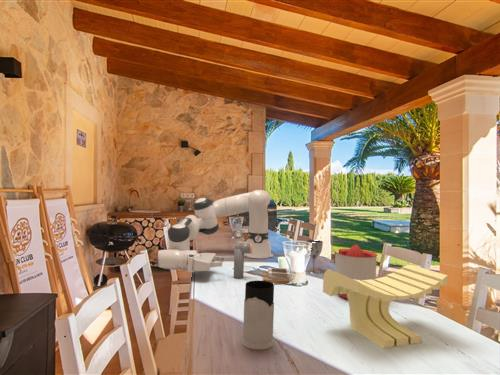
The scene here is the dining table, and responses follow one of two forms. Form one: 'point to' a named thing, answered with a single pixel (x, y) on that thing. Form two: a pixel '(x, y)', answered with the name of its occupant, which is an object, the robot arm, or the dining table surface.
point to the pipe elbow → (240, 258)
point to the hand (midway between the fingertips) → (223, 261)
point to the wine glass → (315, 253)
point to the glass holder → (258, 315)
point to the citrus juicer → (355, 264)
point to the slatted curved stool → (383, 301)
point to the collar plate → (277, 275)
